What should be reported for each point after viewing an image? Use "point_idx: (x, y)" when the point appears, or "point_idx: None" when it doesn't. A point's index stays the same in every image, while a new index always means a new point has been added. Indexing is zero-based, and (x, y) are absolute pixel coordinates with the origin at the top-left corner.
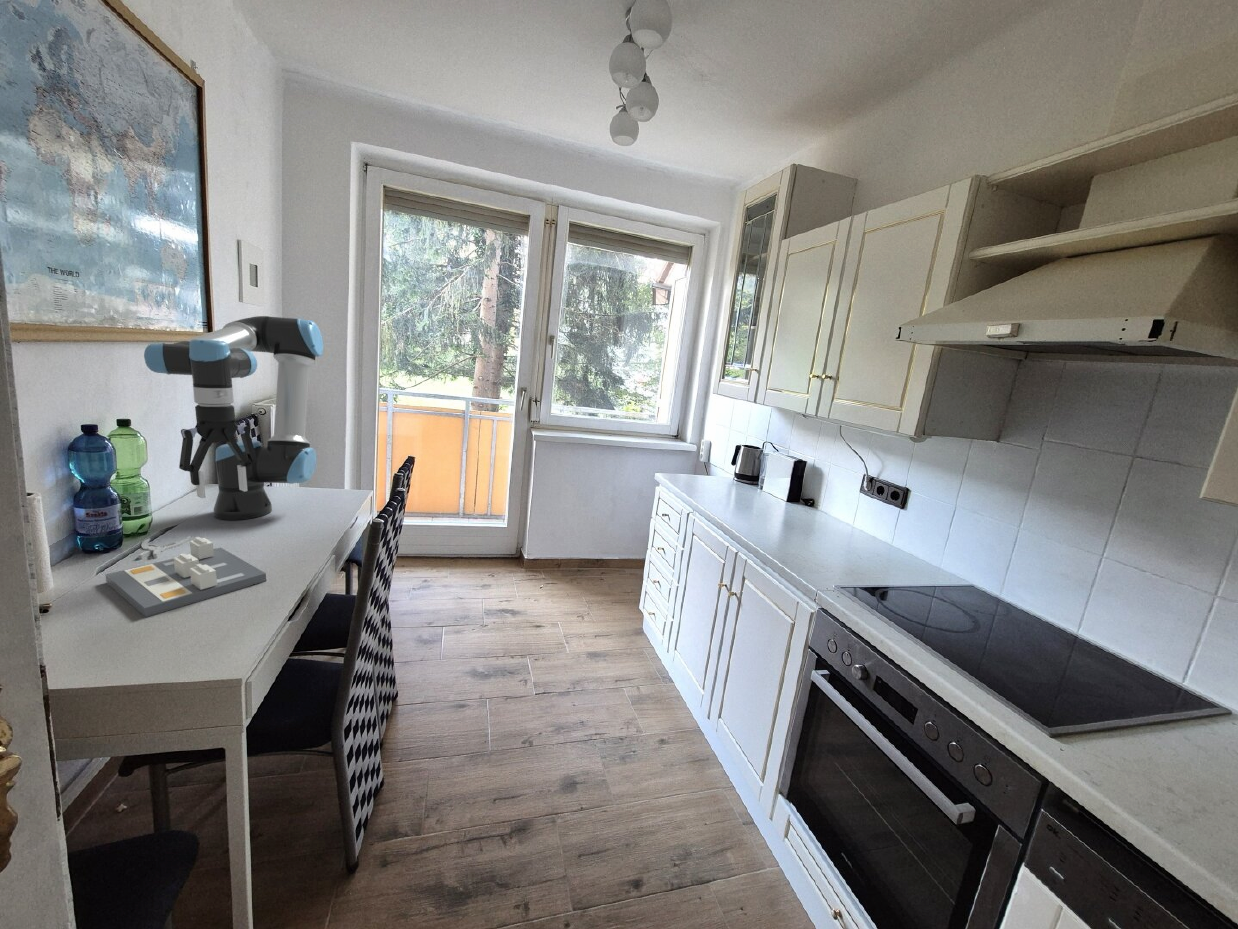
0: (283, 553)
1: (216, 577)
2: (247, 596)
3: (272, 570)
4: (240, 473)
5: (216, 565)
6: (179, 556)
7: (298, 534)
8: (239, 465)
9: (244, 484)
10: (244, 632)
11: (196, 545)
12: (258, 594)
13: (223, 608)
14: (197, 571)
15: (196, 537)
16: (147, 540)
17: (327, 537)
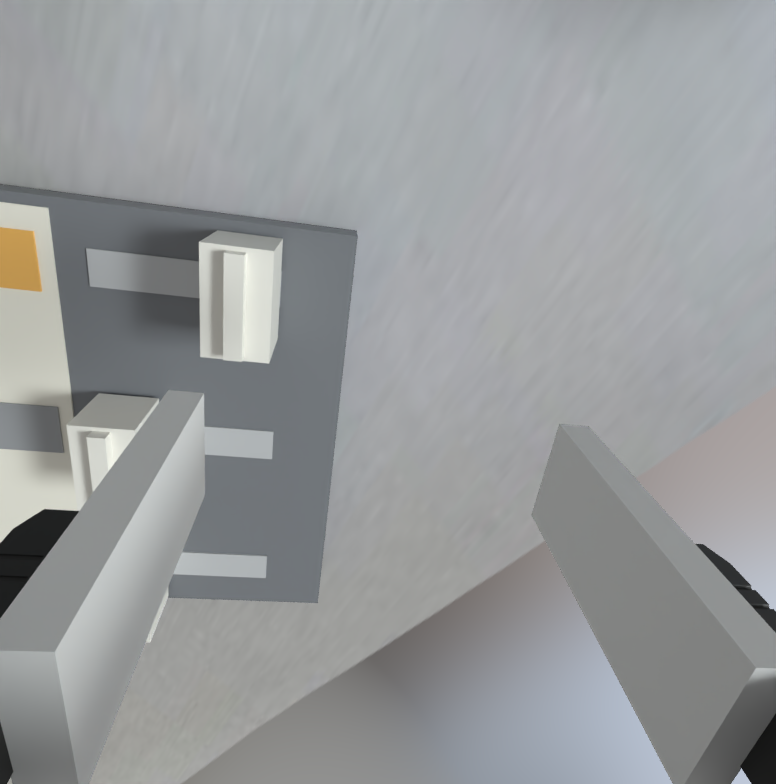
0: (503, 417)
1: (159, 617)
2: (231, 627)
3: (379, 525)
4: (639, 628)
5: (240, 437)
6: (90, 431)
7: (710, 254)
8: (770, 685)
9: (566, 569)
10: (144, 756)
11: (200, 338)
12: (257, 635)
13: (155, 645)
14: None
15: (231, 255)
16: None
17: (720, 390)
